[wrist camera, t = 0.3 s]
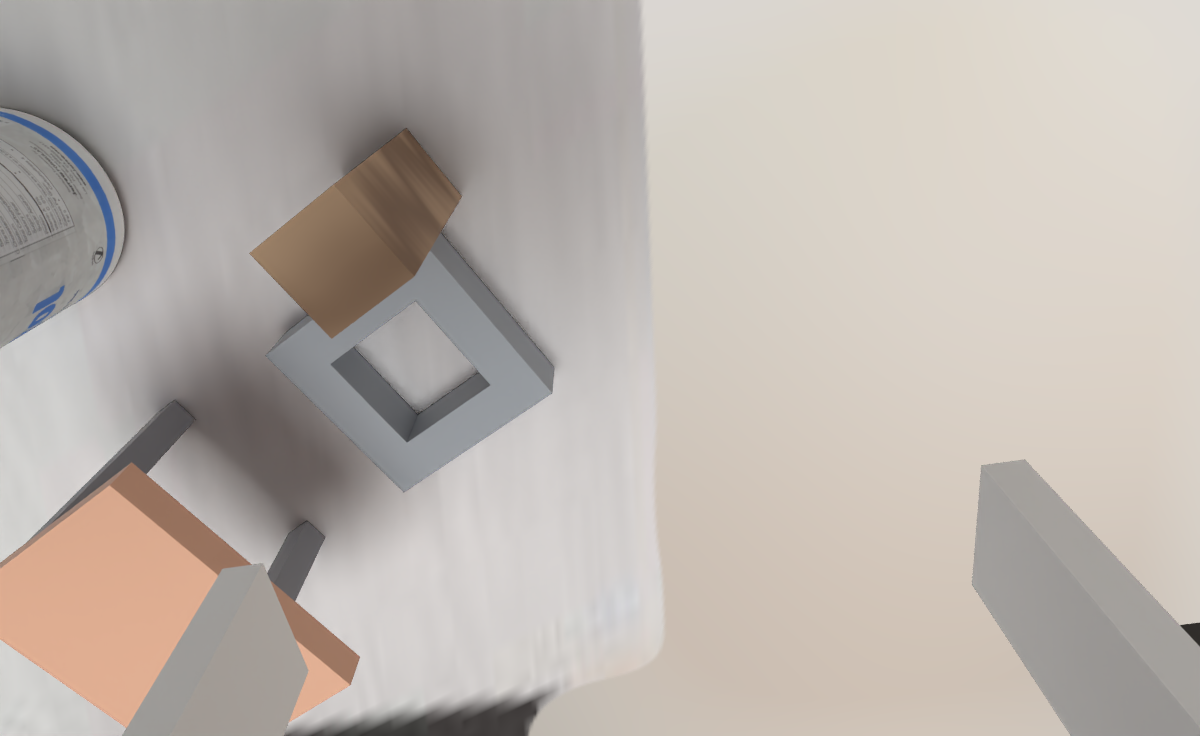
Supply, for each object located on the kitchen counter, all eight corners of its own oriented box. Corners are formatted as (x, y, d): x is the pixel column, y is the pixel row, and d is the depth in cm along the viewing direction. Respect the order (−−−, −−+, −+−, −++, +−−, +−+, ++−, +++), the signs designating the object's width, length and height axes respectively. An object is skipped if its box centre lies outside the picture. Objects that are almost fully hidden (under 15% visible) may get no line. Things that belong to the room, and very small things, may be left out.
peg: (344, 178, 38) (249, 253, 27) (406, 128, 37) (333, 184, 26) (400, 243, 40) (331, 339, 29) (461, 196, 39) (414, 276, 28)
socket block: (286, 332, 41) (265, 355, 39) (430, 220, 39) (419, 237, 36) (414, 462, 45) (403, 492, 42) (554, 367, 43) (552, 393, 40)
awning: (149, 413, 43) (-49, 605, 30) (265, 323, 41) (109, 485, 28) (307, 554, 48) (197, 777, 34) (419, 478, 46) (350, 685, 32)
